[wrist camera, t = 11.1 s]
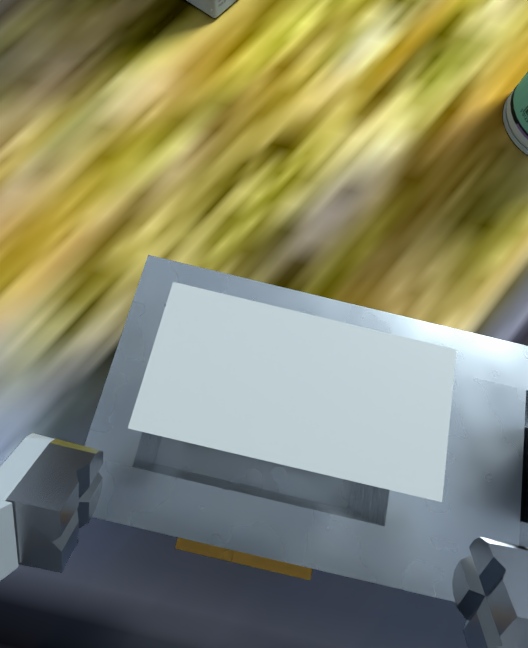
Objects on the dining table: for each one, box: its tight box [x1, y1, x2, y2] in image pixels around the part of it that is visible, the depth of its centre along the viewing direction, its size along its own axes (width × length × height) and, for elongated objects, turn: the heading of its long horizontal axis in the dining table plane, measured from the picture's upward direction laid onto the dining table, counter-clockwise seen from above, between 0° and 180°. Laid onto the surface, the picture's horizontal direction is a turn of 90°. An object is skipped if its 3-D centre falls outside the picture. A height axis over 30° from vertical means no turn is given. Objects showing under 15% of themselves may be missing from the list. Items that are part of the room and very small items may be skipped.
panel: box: [128, 282, 457, 502], centre depth 13 cm, size 6×3×9 cm, turn 77°
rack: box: [84, 255, 528, 602], centre depth 13 cm, size 22×8×10 cm, turn 77°
